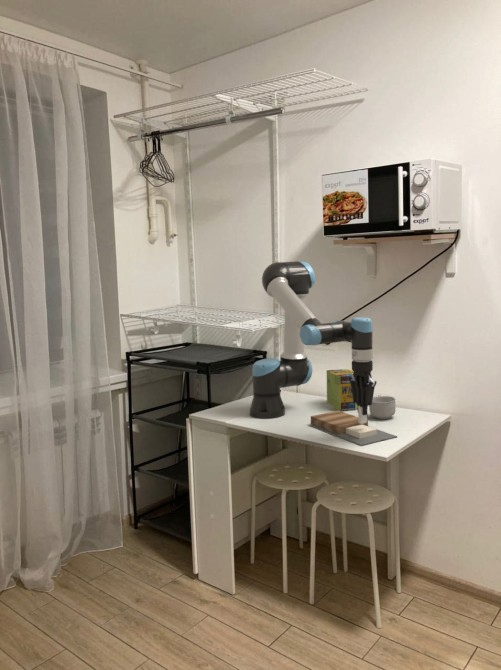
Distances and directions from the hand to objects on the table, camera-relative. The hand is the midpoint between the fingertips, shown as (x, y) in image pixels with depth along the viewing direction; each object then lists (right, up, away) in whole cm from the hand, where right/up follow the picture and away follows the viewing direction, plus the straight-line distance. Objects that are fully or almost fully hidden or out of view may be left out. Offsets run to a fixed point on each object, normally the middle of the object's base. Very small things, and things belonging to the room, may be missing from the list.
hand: (362, 422), depth 214 cm
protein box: (0, +1, +43) cm, 43 cm away
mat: (-3, -4, +6) cm, 8 cm away
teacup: (+13, -1, +25) cm, 28 cm away
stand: (-7, -3, +13) cm, 15 cm away
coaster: (0, -4, +1) cm, 4 cm away
